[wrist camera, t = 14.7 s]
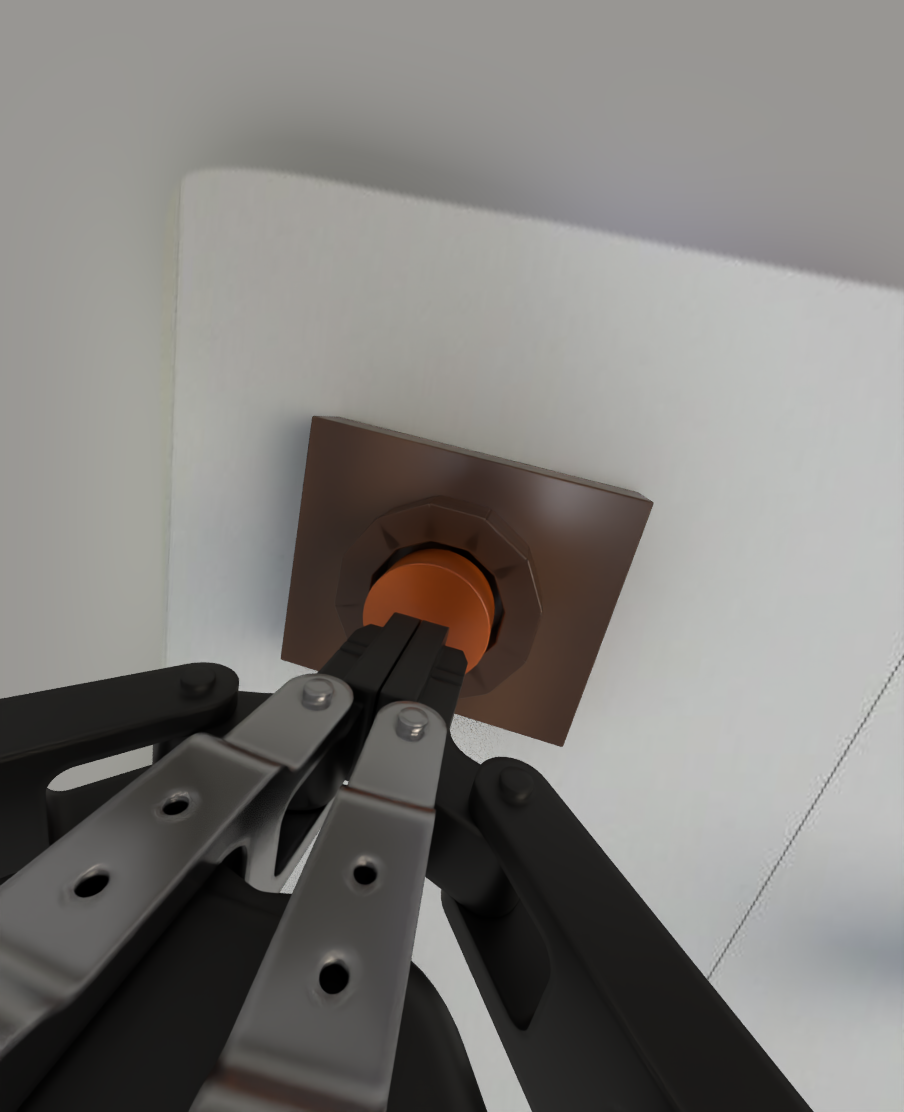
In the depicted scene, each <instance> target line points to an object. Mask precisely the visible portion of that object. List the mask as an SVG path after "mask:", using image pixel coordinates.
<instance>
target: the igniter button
mask: <svg viewBox="0 0 904 1112" xmlns="http://www.w3.org/2000/svg"><path fill="white" fill-rule="evenodd" d="M394 612H398V613H401V614H405V615H408V616H412V617H415V618H419V619H421V620H422V621H423V620H426V621H429V622H433V623H436V624H439V625H443V626H446V627H449V633H448V637H447V641H446V645H445V646H449V647H452V648H456V649H459V650H462V651H463V652H464V654H465V657H466V659H467V662H468V665H467V669H466V672H465V674H466V673H468V672H469V671H470V670H472V669H473V668H474V667H475V666H476V665H477V664H478V662H479V661H480V660H481V658H482V656H483V655H484V653H485V651H486V648H487V645H488V642H489V637H490V633H491V628H492V624H493V619H494V612H495V604H494V597H493V593H492V590H491V587H490V585H489V583H488V581H487V579H486V578H485V576H484V575H483V573H482V572H481V571H480V570H479V569H478V568H477V566H475V565H474V564H473V563H472V562H471V561H469V560H468V559H466V558H465V557H463V556H461V555H459V554H457V553H454V552H451V551H447V550H443V549H423V550H418V551H415V552H412V553H410V554H408V555H406V556H404V557H402V558H401V559H399V560H398V561H397V562H396V563H395V564H394V565H393V566H392V567H391V568H390V569H389V570H388V571H387V572H385V573H384V574H383V575H382V576H381V577H380V578H379V579H378V580H377V582H376V583H375V584H374V585H373V586H372V588H371V590H370V591H369V593H368V595H367V598H366V600H365V604H364V609H363V626H366V625H368V624H374V625H377V626H381V627H383V626H384V625H385V624H386V623H387V621H388V620H389V619H390V617H391V616H392V615H393V613H394Z"/></svg>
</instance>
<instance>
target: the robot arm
mask: <svg viewBox="0 0 904 1112" xmlns="http://www.w3.org/2000/svg"><path fill="white" fill-rule="evenodd" d="M448 633H449V627H446V626H443V625H439V624H436V623H433V622H429V621H426V620H423V621H422V620H421V619H419V618H415V617H412V616H408V615H405V614H401V613H398V612H394V613H393V615H392V616H391V617H390V619H389V620H388V621H387V623H386V624H385V625H384V626H383V627H381V626H377V625H374V624H368V625H366V626H364V627H361V628H359V629H356V630H355V631H354V632H353V633H352V635H351V636H350V637H349V638H348V639H347V642H346V641H345V642H344V644H343V645H342V646H341V647H340V649H339V650H337V651H336V653H335V654H334V655H333V656H332V657H331V658H330V659H329V660H328V662H327V663H326V664H325V665H324V666H323V667H322V668H321V669H320V671H319V672H318V673H317V674H305V675H301V676H298V677H295V678H293V679H291V680H289V681H288V682H287V683H286V684H284V685H283V686H282V687H281V688H280V689H279V690H277V691H276V692H275V693H257V692H245V691H238V688H239V678H238V676H237V674H236V673H235V672H234V671H233V670H232V669H230V668H228V667H226V666H223V665H220V664H216V663H206V662H200V663H190V664H184V665H179V666H174V667H168V668H163V669H158V670H152V671H147V672H142V673H136V674H131V675H126V676H120V677H115V678H110V679H104V680H99V681H94V682H88V683H83V684H78V685H73V686H67V687H61V688H56V689H51V690H45V691H40V692H35V693H29V694H25V695H19V696H13V697H9V698H3V699H0V1112H487V1110H486V1107H485V1104H484V1101H483V1098H482V1095H481V1092H480V1090H479V1087H478V1084H477V1081H476V1078H475V1075H474V1072H473V1070H472V1067H471V1064H470V1061H469V1058H468V1055H467V1053H466V1050H465V1047H464V1044H463V1041H462V1039H461V1036H460V1034H459V1031H458V1028H457V1026H456V1024H455V1022H454V1020H453V1018H452V1016H451V1014H450V1012H449V1010H448V1008H447V1006H446V1004H445V1003H444V1001H443V999H442V998H441V996H440V995H439V993H438V991H437V990H436V988H435V987H434V985H433V984H432V983H431V982H430V980H429V979H428V978H427V977H426V975H425V974H424V973H423V972H422V971H421V970H420V969H419V968H418V967H417V966H416V965H415V964H414V963H413V962H412V961H411V957H412V952H413V946H414V940H415V934H416V928H417V922H418V916H419V910H420V904H421V898H422V892H423V886H424V880H425V877H426V878H428V879H429V880H430V881H432V882H433V883H434V884H435V885H437V886H438V887H439V888H441V901H442V906H443V909H444V912H445V914H446V916H447V919H448V921H449V923H450V926H451V928H452V930H453V932H454V935H455V937H456V939H457V942H458V944H459V946H460V948H461V951H462V953H463V955H464V957H465V960H466V962H467V964H468V967H469V969H470V971H471V973H472V976H473V978H474V980H475V983H476V985H477V987H478V989H479V992H480V994H481V996H482V999H483V1001H484V1003H485V1005H486V1008H487V1010H488V1012H489V1014H490V1017H491V1019H492V1021H493V1024H494V1026H495V1028H496V1030H497V1033H498V1035H499V1037H500V1040H501V1042H502V1044H503V1046H504V1049H505V1051H506V1053H507V1055H508V1058H509V1060H510V1062H511V1065H512V1067H513V1069H514V1071H515V1074H516V1076H517V1078H518V1081H519V1083H520V1085H521V1087H522V1090H523V1092H524V1094H525V1096H526V1099H527V1101H528V1103H529V1106H530V1108H531V1110H532V1112H813V1110H812V1109H811V1108H810V1107H809V1105H808V1104H807V1103H806V1102H805V1101H804V1099H803V1098H802V1097H801V1096H800V1094H799V1093H798V1092H797V1091H796V1089H795V1088H794V1087H793V1086H792V1084H791V1083H790V1082H789V1081H788V1079H787V1078H786V1077H785V1076H784V1074H783V1073H782V1072H781V1071H780V1069H779V1068H778V1067H777V1066H776V1065H775V1063H774V1062H773V1061H772V1060H771V1058H770V1057H769V1056H768V1055H767V1053H766V1052H765V1051H764V1050H763V1048H762V1047H761V1046H760V1045H759V1043H758V1042H757V1041H756V1040H755V1038H754V1037H753V1036H752V1035H751V1033H750V1032H749V1031H748V1030H747V1029H746V1027H745V1026H744V1025H743V1024H742V1022H741V1021H740V1020H739V1019H738V1017H737V1016H736V1015H735V1014H734V1012H733V1011H732V1010H731V1009H730V1007H729V1006H728V1005H727V1004H726V1002H725V1001H724V1000H723V999H722V997H721V996H720V995H719V994H718V992H717V991H716V990H715V989H714V988H713V986H712V985H711V984H710V983H709V981H708V980H707V979H706V978H705V976H704V975H703V974H702V973H701V971H700V970H699V969H698V968H697V966H696V965H695V964H694V963H693V961H692V960H691V959H690V958H689V956H688V955H687V954H686V953H685V952H684V950H683V949H682V948H681V947H680V945H679V944H678V943H677V942H676V940H675V939H674V938H673V937H672V935H671V934H670V933H669V932H668V930H667V929H666V928H665V927H664V925H663V924H662V923H661V922H660V920H659V919H658V918H657V917H656V916H655V914H654V913H653V912H652V911H651V909H650V908H649V907H648V906H647V904H646V903H645V902H644V901H643V899H642V898H641V897H640V896H639V894H638V893H637V892H636V891H635V889H634V888H633V887H632V886H631V884H630V883H629V882H628V881H627V879H626V878H625V877H624V876H623V875H622V873H621V872H620V871H619V870H618V868H617V867H616V866H615V865H614V863H613V862H612V861H611V860H610V858H609V857H608V856H607V855H606V853H605V852H604V851H603V850H602V848H601V847H600V846H599V845H598V843H597V842H596V841H595V840H594V839H593V837H592V836H591V835H590V834H589V832H588V831H587V830H586V829H585V827H584V826H583V825H582V824H581V822H580V821H579V820H578V819H577V817H576V816H575V815H574V814H573V812H572V811H571V810H570V809H569V807H568V806H567V805H566V804H565V803H564V801H563V800H562V799H561V798H560V796H559V795H558V794H557V793H556V791H555V790H554V789H553V788H552V786H551V785H550V784H549V783H548V781H547V780H546V779H545V778H544V777H543V776H542V775H541V774H540V773H539V772H538V771H537V770H536V769H534V768H533V767H532V766H530V765H528V764H526V763H524V762H522V761H520V760H517V759H513V758H509V757H494V758H491V759H488V760H486V761H484V762H483V763H482V764H479V763H477V762H476V761H474V760H472V759H471V758H469V757H468V756H466V755H465V754H464V753H463V752H462V751H461V750H460V749H459V748H458V747H457V746H456V744H455V743H454V741H453V739H452V737H451V734H450V727H451V723H452V720H453V716H454V713H455V709H456V706H457V702H458V698H459V695H460V691H461V687H462V683H463V680H464V676H465V672H466V669H467V665H468V662H467V659H466V657H465V654H464V652H463V651H462V650H459V649H456V648H452V647H449V646H445V645H446V641H447V637H448ZM150 745H153V762H152V765H149V766H146V767H143V768H139V769H136V770H133V771H130V772H127V773H123V774H120V775H117V776H113V777H110V778H107V779H104V780H100V781H97V782H94V783H90V784H87V785H84V786H81V787H77V788H74V789H71V790H66V791H53V790H50V789H48V788H47V787H48V785H49V783H50V782H51V781H52V780H53V779H54V778H55V777H56V776H57V775H59V774H60V773H62V772H63V771H65V770H67V769H69V768H72V767H75V766H78V765H82V764H85V763H89V762H93V761H96V760H100V759H103V758H107V757H111V756H114V755H118V754H121V753H125V752H128V751H131V750H135V749H139V748H143V747H146V746H150ZM344 780H346V781H349V782H348V785H344V784H343V782H344ZM320 829H321V830H320ZM319 830H320V832H319ZM318 832H319V834H318V836H317V839H316V841H315V843H314V845H313V848H312V850H311V852H310V854H309V857H308V859H307V861H306V864H305V866H304V868H303V870H302V873H301V875H300V877H299V879H298V882H297V884H296V886H295V888H294V891H293V893H292V894H286V893H280V891H281V889H282V888H283V886H284V885H285V883H286V882H287V880H288V878H289V877H290V875H291V874H292V872H293V871H294V869H295V868H296V866H297V864H298V863H299V861H300V860H301V858H302V857H303V855H304V853H305V852H306V850H307V849H308V847H309V846H310V844H311V843H312V841H313V839H314V838H315V836H316V835H317V833H318Z"/></svg>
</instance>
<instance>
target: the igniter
mask: <svg viewBox="0 0 904 1112" xmlns="http://www.w3.org/2000/svg"><path fill="white" fill-rule="evenodd" d="M652 507H653V502H652V501H651V500H649V499H648V498H646V497H645V496H643V495H642V494H640V493H638V492H634V491H630V490H626V489H622V488H618V487H614V486H611V485H607V484H603V483H599V482H595V481H591V480H587V479H583V478H579V477H575V476H571V475H567V474H563V473H559V472H555V471H551V470H547V469H543V468H539V467H535V466H531V465H527V464H523V463H519V462H515V461H511V460H507V459H503V458H499V457H496V456H492V455H488V454H484V453H480V452H476V451H472V450H468V449H464V448H460V447H456V446H452V445H448V444H444V443H440V442H436V441H432V440H428V439H424V438H420V437H416V436H412V435H408V434H404V433H400V432H396V431H392V430H388V429H384V428H380V427H377V426H373V425H369V424H365V423H361V422H357V421H353V420H349V419H345V418H341V417H330V416H313V417H312V423H311V430H310V438H309V446H308V453H307V461H306V469H305V476H304V484H303V492H302V499H301V507H300V515H299V522H298V530H297V538H296V545H295V553H294V561H293V568H292V576H291V584H290V591H289V599H288V606H287V614H286V622H285V629H284V637H283V645H282V652H281V659H282V660H284V661H288V662H291V663H294V664H297V665H301V666H304V667H307V668H310V669H313V670H317V671H320V669H321V668H322V667H323V666H324V665H325V664H326V663H327V662H328V660H329V659H330V658H331V657H332V656H333V655H334V654H335V653H336V651H337V650H339V649H340V647H341V646H342V645H343V644H344V642H345V641H346V642H347V639H348V638H349V637H350V636H351V635H352V633H353V632H354V631H355V630H356V629H359V628H361V627H364V626H363V609H364V604H365V600H366V598H367V595H368V593H369V591H370V590H371V588H372V586H373V585H374V584H375V583H376V582H377V580H378V579H379V578H380V577H381V576H382V575H383V574H384V573H385V572H387V571H388V570H389V569H390V568H391V567H392V566H393V565H394V564H395V563H396V562H397V561H398V560H399V559H401V558H402V557H404V556H406V555H408V554H410V553H412V552H415V551H418V550H423V549H443V550H447V551H451V552H454V553H457V554H459V555H461V556H463V557H465V558H466V559H468V560H469V561H471V562H472V563H473V564H474V565H475V566H477V568H478V569H479V570H480V571H481V572H482V573H483V575H484V576H485V578H486V579H487V581H488V583H489V585H490V587H491V590H492V593H493V597H494V604H495V612H494V619H493V624H492V628H491V633H490V637H489V642H488V645H487V648H486V651H485V653H484V655H483V656H482V658H481V660H480V661H479V662H478V664H477V665H476V666H475V667H474V668H473V669H472V670H470V671H469V672H468V673H466V674H465V676H464V680H463V683H462V687H461V691H460V695H459V698H458V702H457V706H456V709H455V713H454V714H458V715H461V716H464V717H467V718H470V719H474V720H477V721H480V722H483V723H487V724H490V725H493V726H496V727H499V728H503V729H506V730H509V731H512V732H515V733H519V734H522V735H525V736H528V737H531V738H535V739H538V740H541V741H544V742H547V743H551V744H554V745H557V746H560V747H563V745H564V742H565V740H566V737H567V734H568V732H569V729H570V726H571V724H572V721H573V718H574V716H575V713H576V710H577V708H578V705H579V702H580V700H581V697H582V694H583V692H584V689H585V686H586V683H587V681H588V678H589V675H590V673H591V670H592V667H593V665H594V662H595V659H596V657H597V654H598V651H599V649H600V646H601V643H602V641H603V638H604V635H605V633H606V630H607V627H608V625H609V622H610V619H611V616H612V614H613V611H614V608H615V606H616V603H617V600H618V598H619V595H620V592H621V590H622V587H623V584H624V582H625V579H626V576H627V574H628V571H629V568H630V566H631V563H632V560H633V557H634V555H635V552H636V549H637V547H638V544H639V541H640V539H641V536H642V533H643V531H644V528H645V525H646V523H647V520H648V517H649V515H650V512H651V509H652Z"/></svg>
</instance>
